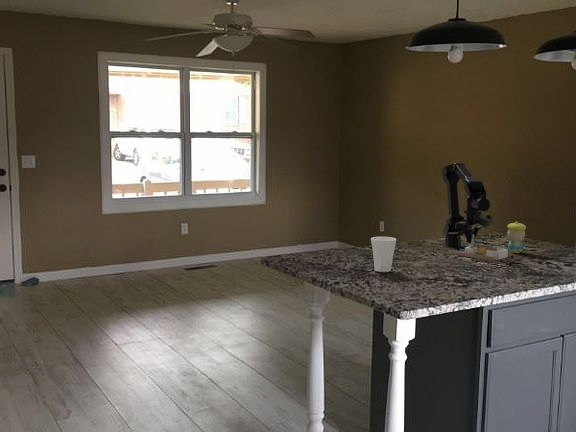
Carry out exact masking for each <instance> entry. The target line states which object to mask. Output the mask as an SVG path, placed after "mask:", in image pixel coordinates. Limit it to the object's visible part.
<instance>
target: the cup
mask: <svg viewBox="0 0 576 432" xmlns="http://www.w3.org/2000/svg"><path fill="white" fill-rule="evenodd" d="M370 243H371V247H372V257H373V264H374V265H373V266H374V271H376V272H380V273H389V272H391V270H392V265H393V259H394V254H395V248H396V245H397V244H396V243H397V238H395V237H391V236H373V237H371V238H370Z"/></svg>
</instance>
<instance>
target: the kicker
mask: <svg viewBox="0 0 576 432" xmlns="http://www.w3.org/2000/svg"><path fill="white" fill-rule="evenodd" d="M467 244H468V245H467V246H468V247H466V246H465V247H464V250H465V252H469V253H473V254H475V253H477V248H478V247H476V248H475V242H474V234H472V241H471V244H469V243H468V242H467Z"/></svg>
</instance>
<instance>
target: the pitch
mask: <svg viewBox="0 0 576 432" xmlns="http://www.w3.org/2000/svg"><path fill="white" fill-rule="evenodd" d="M465 247H468V245H467V246H465ZM474 247H475V246H474ZM475 248H477V251H478V249H479V248H480V247H475ZM484 249H485V250H486V252H487V250H490V251H496V250H497V249H496V250H495V249H489V248H484ZM486 252H485V254H484V255H479V254H478V252H477V253H475V254H473V253H469V252H465V248H464V249H463V248H459V250H455V249H454V250H450V249H449V250H448V249H447V254H448V255H453V256H459V257H467V258H471V259H478V260H484V261H488V262H495V261H497V260H495V257H489V256H486ZM510 257H512V253H511V252H510V251H508V257H506V258H510ZM506 258H505V259H506ZM499 260H501V259H499ZM499 260H498V261H499Z"/></svg>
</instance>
